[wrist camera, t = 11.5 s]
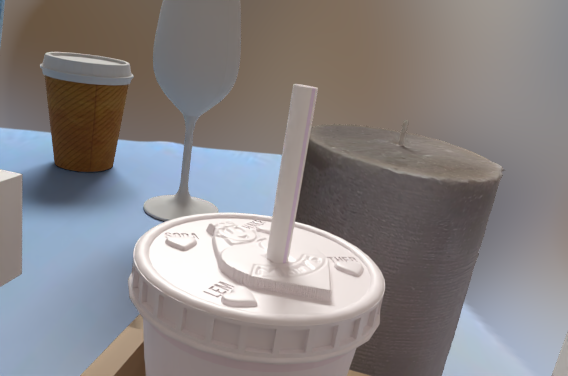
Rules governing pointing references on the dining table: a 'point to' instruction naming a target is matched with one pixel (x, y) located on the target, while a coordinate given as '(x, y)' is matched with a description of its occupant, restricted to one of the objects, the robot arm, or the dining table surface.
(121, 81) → the disposable coffee cup
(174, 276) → the smoothie
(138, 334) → the bay walls
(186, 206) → the wineglass
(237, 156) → the dining table surface
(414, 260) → the pillar candle
